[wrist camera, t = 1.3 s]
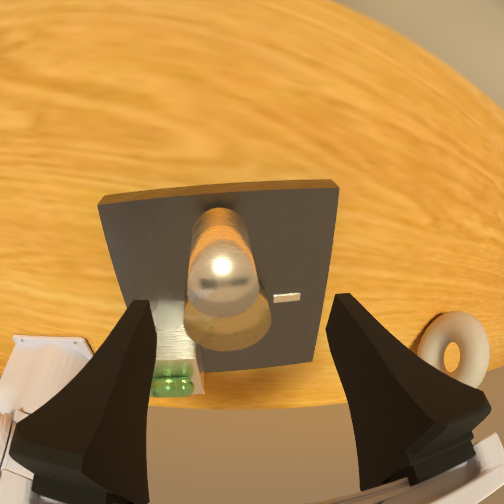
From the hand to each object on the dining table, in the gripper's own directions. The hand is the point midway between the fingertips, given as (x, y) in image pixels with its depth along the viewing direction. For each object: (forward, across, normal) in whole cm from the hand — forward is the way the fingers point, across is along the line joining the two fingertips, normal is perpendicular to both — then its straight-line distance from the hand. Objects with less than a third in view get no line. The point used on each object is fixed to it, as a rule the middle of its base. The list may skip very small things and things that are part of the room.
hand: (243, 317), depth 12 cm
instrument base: (+10, +1, +7) cm, 12 cm away
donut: (+10, -22, +14) cm, 29 cm away
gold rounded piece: (+8, +1, +4) cm, 9 cm away
